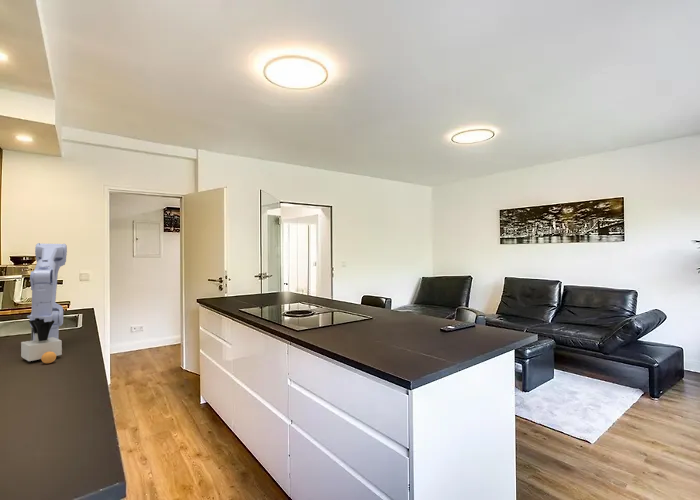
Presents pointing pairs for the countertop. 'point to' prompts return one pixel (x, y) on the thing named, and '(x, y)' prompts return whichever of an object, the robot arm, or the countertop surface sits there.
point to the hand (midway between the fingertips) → (41, 339)
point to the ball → (48, 357)
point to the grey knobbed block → (40, 348)
